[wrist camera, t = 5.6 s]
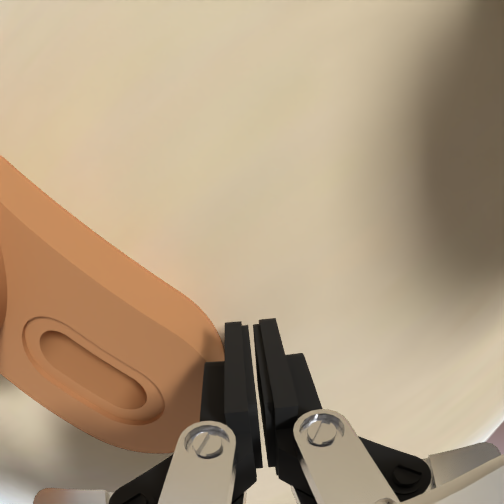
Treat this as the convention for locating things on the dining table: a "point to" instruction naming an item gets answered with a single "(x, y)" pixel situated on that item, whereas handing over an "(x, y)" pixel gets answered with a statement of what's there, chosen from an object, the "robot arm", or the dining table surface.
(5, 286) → the bracket
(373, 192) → the dining table surface
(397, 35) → the dining table surface
